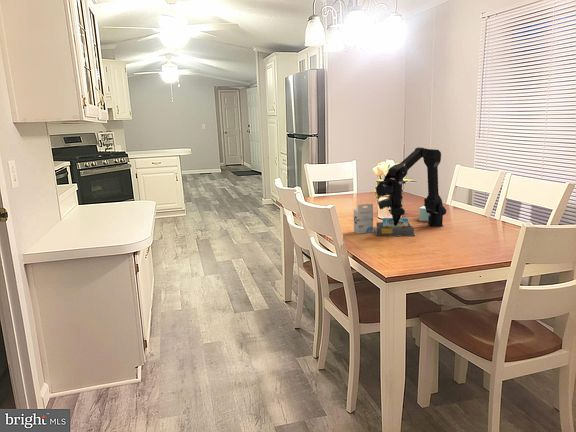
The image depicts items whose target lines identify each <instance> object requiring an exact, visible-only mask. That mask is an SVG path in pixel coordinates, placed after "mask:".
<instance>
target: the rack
mask: <svg viewBox="0 0 576 432" xmlns="http://www.w3.org/2000/svg"><path fill="white" fill-rule="evenodd" d="M373 230H374V232H375V235H376V237H415V236H416V234H415V227H414V226H413V225H411V224H410V222H409V221H408V228H382V222H381V221H380V222H379V221H378V222H377V221H376V226H375V227H374V226H373Z"/></svg>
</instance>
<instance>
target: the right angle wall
mask: <svg viewBox="0 0 576 432" xmlns="http://www.w3.org/2000/svg"><path fill="white" fill-rule="evenodd" d="M418 210H419V211H418V221H420V222H428V216H429V213H427V212H426V208H425V206H424V205H423V206H421V207H419V208H418Z"/></svg>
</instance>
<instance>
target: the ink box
mask: <svg viewBox="0 0 576 432" xmlns="http://www.w3.org/2000/svg"><path fill="white" fill-rule="evenodd" d="M373 205H374V204H373V203H361V204H358V205H357V208H354V209H353V232H354V233H355V234H358V235H361V234H368V233H373V232H374V206H373Z"/></svg>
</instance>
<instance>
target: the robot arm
mask: <svg viewBox="0 0 576 432" xmlns="http://www.w3.org/2000/svg"><path fill="white" fill-rule="evenodd" d="M422 158H423V163H424V164H425V166H426V172H427V190H428V191H427V196H426V198H423V202H424V204H423V206H425V208H426V212H427V213H429V216H428V221H427V224H428V225H429V227H444V224H443V222H444V221H443V219H444V215H446V214H447V209H446V208H445V206H444V205H443V199H442V198H441V196H440V195H439V169H438V167H439V165H440V164H441V161H442V152H441V151H440V150H439V149H433V148H425V147H421V146H420V147H419V146H418V147H416V148H414V151H412V152H411V153H410V154H409V155H407V157H406V158H404V159H403V160H402V161H401V162H400V163H397V164H395V165H392V166H391V167H389V169H388V170H387V174H386V175H385V176H384V179H383V180H380V181H378V182H379V184H377V185H376V188H375V192H376V194H377V196H379V197H384V196H388V197H387V198H384V199H382V200H379V201H377V204H378V208H379V210H383V209H385V208H387V209H388V212H389V214H390V215H391V218H393V221H394V226H397V224H398V222H399V220H400V218H402V216H405V214H406V209H404V207H403V185H404V184H406V181H405V180H404V178H405V177H406V176H407V175H408V171H409V169H411V168H412V167H413V166H414V165H415V164H416V163H417V162H418V161H420V159H422Z"/></svg>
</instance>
